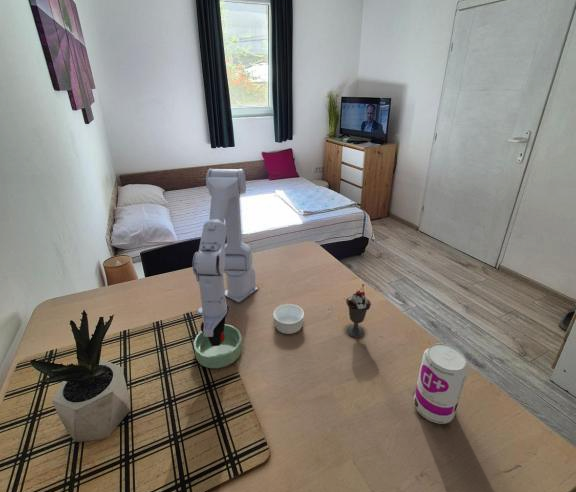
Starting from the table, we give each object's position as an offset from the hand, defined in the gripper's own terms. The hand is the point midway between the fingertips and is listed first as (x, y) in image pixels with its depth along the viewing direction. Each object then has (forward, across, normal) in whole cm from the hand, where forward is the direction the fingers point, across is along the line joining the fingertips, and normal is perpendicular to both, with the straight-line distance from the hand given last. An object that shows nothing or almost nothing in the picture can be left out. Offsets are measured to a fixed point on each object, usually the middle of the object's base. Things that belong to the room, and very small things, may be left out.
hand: (217, 338), depth 84 cm
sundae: (+4, -8, +37) cm, 39 cm away
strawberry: (+1, 0, 0) cm, 1 cm away
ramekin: (+4, -10, +18) cm, 22 cm away
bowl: (+4, 0, 0) cm, 4 cm away
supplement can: (+4, +16, +50) cm, 53 cm away
